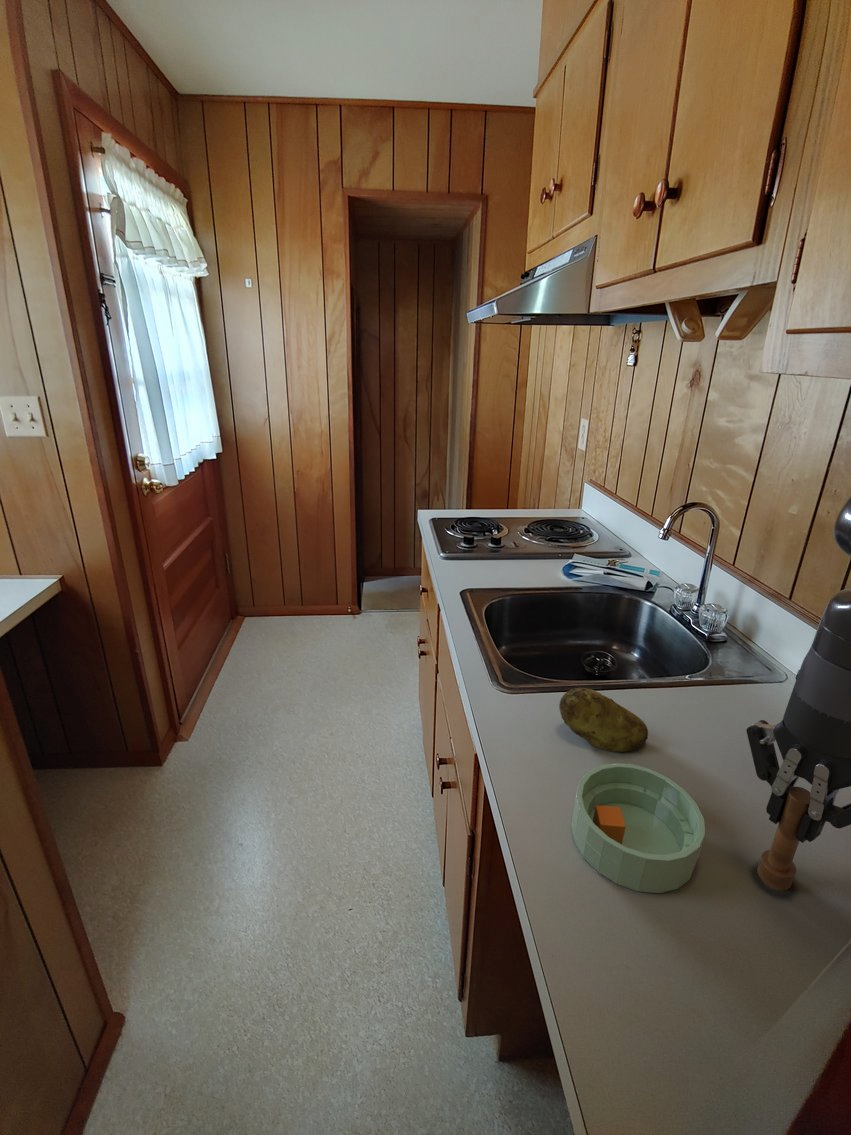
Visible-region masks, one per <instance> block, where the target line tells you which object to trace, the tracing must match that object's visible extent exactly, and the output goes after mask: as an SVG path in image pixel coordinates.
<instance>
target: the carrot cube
mask: <svg viewBox="0 0 851 1135" xmlns="http://www.w3.org/2000/svg"><path fill="white" fill-rule="evenodd" d="M593 823H594V824H595V825H596V826H597V827H598V828H599V829H600V830H601V831H603V832H604V833H605V834H606V835H607V836H608V837H609V838H611V839H613V840H615V841H616V842H618V843H620V844H621V845H622V841H623V837H624V833H625V828H626V826H625V822H624V819H623V815H622V812H621V809H620V807H611V806H600V805H596V807H595V812H594V817H593Z"/></svg>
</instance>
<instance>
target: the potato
mask: <svg viewBox="0 0 851 1135" xmlns="http://www.w3.org/2000/svg"><path fill="white" fill-rule="evenodd" d="M558 707H559V712H560V716H561V719H562V721H563V723H564V724H565V725H566V726H568V728H569V729H570V730H571V731H572V732H573V733H574V734H576V735H577V736H579V737H581V738H584V740H586V741H587V742H588V743H589V744H590V745H591V746H593V747H595V748H598V749H600V750H603V751H609V752H617V753H622V752H623V753H624V752H630V751H634V750H637V749H640V748H642V747H643V746H644V745H645V744H646V742H647V740H648V736H649V730H648V726H647V725H646V723H645V722H644V720H642V719H641V717H639V716H638V715H636V714H634V713H633V712H631V710H628V708H626V707H624V706H622V705H621V704H619V703H617V702H616V701H614V699H612V698H610V697H608V696H606V695H604V694H601V693H600V692H598V691H596V690H595V689H591V688H588V687H587V688H586V687H572V688H570V689H569V690H568V691H566V692H565V693H564V694H563V695H562V696H561V698H560V701H559V704H558Z"/></svg>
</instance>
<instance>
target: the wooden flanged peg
mask: <svg viewBox="0 0 851 1135" xmlns="http://www.w3.org/2000/svg"><path fill="white" fill-rule="evenodd" d="M810 792H811V791H810V790H808V789H807V788H805V787H803V786H802V787H801V786H794V787H791V788H790V789H789V792H788V795H787V798H786V802H785V805H784V808H783V811H782V814H781V817H780V820H779V822H778V823H777V827H776V829H775V833H774V836H773V839H772V842H771V846H770V849H767V850H764V851H763V852H762V853H761V856H760V859H759V861H758V865H757V869H756V870H757V872H756V873H757V874H758V877H759V878H760V880H761V881H762V882H763V883H765V884H766V885H767V886H769V887H770V888H773V889H775V890H777V891H787V890H789V889H790V888H791V887H792V884H793V882H794V879H795V876H796V873H797V867H796V864H795V862H794V858H795V855H796V852H797V849H798V847H799V844H800V841H799V840H797V839H796V838H795V837H796V835H797V832H798V830H799V827H800V825H801V822H802V820H803V817H804V815H805V813H807V812H808V809H809V805H810V801H811V798H810Z"/></svg>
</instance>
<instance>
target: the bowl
mask: <svg viewBox="0 0 851 1135" xmlns="http://www.w3.org/2000/svg"><path fill="white" fill-rule="evenodd" d="M596 805H600V806H611V807H620V809H621V812H622V815H623V819H624V822H625V826H626V828H625V833H624V837H623V841H622V845H621V844H620V843H618V842H616V841H615V840H613V839H611V838H609V837H608V836H607V835H606V834H605V833H604V832H603V831H601V830H600V829H599V828H598V827H597V826H596V825H595V824H594V823H593V817H594V812H595V807H596ZM705 822H706V821H705V818H704V816H703V813H702V811H701V810H700V807H699V806H698V804H697V802H696V801H695V800H694V798H692V796H691V795H690V794H689V793H688V792H687V791H686V790H685V789H684V788H682V787H681V786H680V785H679V784H677V783H676V782H675V781H674V780H672V779H671V778H669V777H667V776H666V775H663V774H661V773H659V772H657V771H655V770H653V769H651V768H648V767H644V766H641V765H636V764H632V763H623V762H622V763H620V762H619V763H618V762H614V763H613V762H612V763H607V764H602V765H601V764H600V765H598V766H596V767H594V768H593V769H590V770H589V771H587V772H586V773H585V774H584V775H583V777H582V778H581V779H580V780H579V781H578V785H577V789H576V794H575V800H574V805H573V811H572V817H571V822H570V823H571V824H570V827H571V832H572V838H573V842H574V844H575V846H576V847H577V849H578V851H579V853H580V855H581V856H582V857H583V859H584V860H585V861H586V862H587V863H588V864H589V865H590V866H591V867H592V868H593V869H594V870H595V871H596V872H597V873H599V874H600V875H602V876H603V877H605V878H606V879H608V880H610V881H611V882H613V883H614V884H616V885H618V886H620V887H624V888H627V889H629V890H633V891H635V892H639V893H652V894H662V893H666V892H671V891H675V890H678V889H680V888H681V887H682V886H683V885H684V884H686V883H687V882H688V881H690V880H691V878H692V875H693V873H694V871H695V869H696V867H697V863H698V860H699V856H700V853H701V850H702V847H703V844H704V842H705V841H704V840H705V837H706V823H705Z"/></svg>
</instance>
